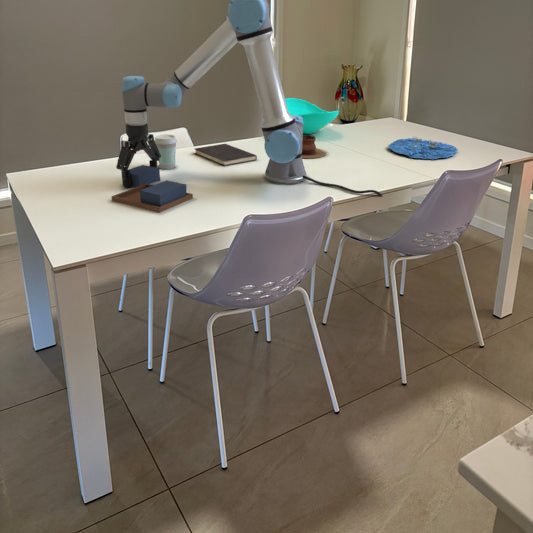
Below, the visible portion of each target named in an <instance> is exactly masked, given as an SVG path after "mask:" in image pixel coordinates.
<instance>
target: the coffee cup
mask: <svg viewBox="0 0 533 533" xmlns="http://www.w3.org/2000/svg"><path fill="white" fill-rule="evenodd" d="M154 141H155V143H156V145H157V147H158V150H159V152H160V154H161V158H159V159H160V160H159V161H158V165H159V166H158V167H159V169H161V170H172V169H175V167H176V151H177V142H178V141H177V138H176V136H175V135H173V134H159V135H156V136H154Z"/></svg>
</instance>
